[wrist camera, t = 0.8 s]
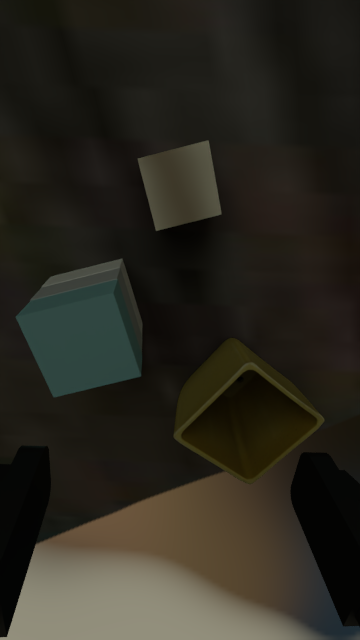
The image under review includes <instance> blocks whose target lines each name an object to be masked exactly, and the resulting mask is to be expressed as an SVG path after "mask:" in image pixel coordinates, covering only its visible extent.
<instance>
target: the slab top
mask: <svg viewBox="0 0 360 640" xmlns="http://www.w3.org/2000/svg"><path fill="white" fill-rule="evenodd" d="M16 319H17V321H18V323H19V325H20V327H21V329H22V332H23V334H24V336H25V338H26V340H27V342H28V344H29V346H30V348H31V351H32V353H33V355H34V357H35V359H36V361H37V363H38V365H39V367H40V370H41V372H42V374H43V376H44V378H45V380H46V382H47V384H48V386H49V389H50V391H51V393H52V395H53V397H58V396H62V395H66V394H70V393H74V392H78V391H82V390H87V389H91V388H95V387H99V386H103V385H107V384H112V383H116V382H120V381H124V380H128V379H132V378H136V377H141V370H142V353H141V350H140V346H139V343H138V340H137V337H136V334H135V331H134V328H133V325H132V322H131V319H130V315H129V312H128V309H127V306H126V303H125V300H124V297H123V294H122V291H121V288H120V284H119V281H118V279H116V280H112V281H108V282H104V283H100V284H96V285H92V286H88V287H84V288H80V289H76V290H72V291H68V292H64V293H60V294H56V295H52V296H48V297H44V298H40V299H36V300H32V301H30V302H29V303H28V304H27V305H26V307H25V308H24V309H23V310H22V311H21V312H20V313H19V314H18V315H17V316H16Z"/></svg>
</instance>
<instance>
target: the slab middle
mask: <svg viewBox="0 0 360 640" xmlns="http://www.w3.org/2000/svg"><path fill="white" fill-rule="evenodd" d="M116 279H118V281H119V284H120V288H121V291H122V294H123V297H124V300H125V303H126V306H127V309H128V312H129V315H130V319H131V322H132V325H133V328H134V331H135V334H136V337H137V340H138V343H139V346H140V350H141V353H142V339H143V338H142V334H141V331H140V328H139V325H138V322H137V319H136V315H135V312H134V309H133V306H132V303H131V299H130V296H129V293H128V290H127V287H126V284H125V280H124V277H123V274H122V271H121V268H116V269H112V270H109V271H105V272H101V273H97V274H93V275H89V276H85V277H81V278H77V279H73V280H69V281H65V282H61V283H57V284H53V285H49V286H45V287H42V288H41V289H40V290H39V291H38V292H37V293H36V294H35V295H34V296H33V297H32V299H31V300H30V301H32V300H36V299H40V298H44V297H48V296H52V295H56V294H60V293H64V292H68V291H72V290H76V289H80V288H84V287H88V286H92V285H96V284H100V283H104V282H108V281H112V280H116Z"/></svg>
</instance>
